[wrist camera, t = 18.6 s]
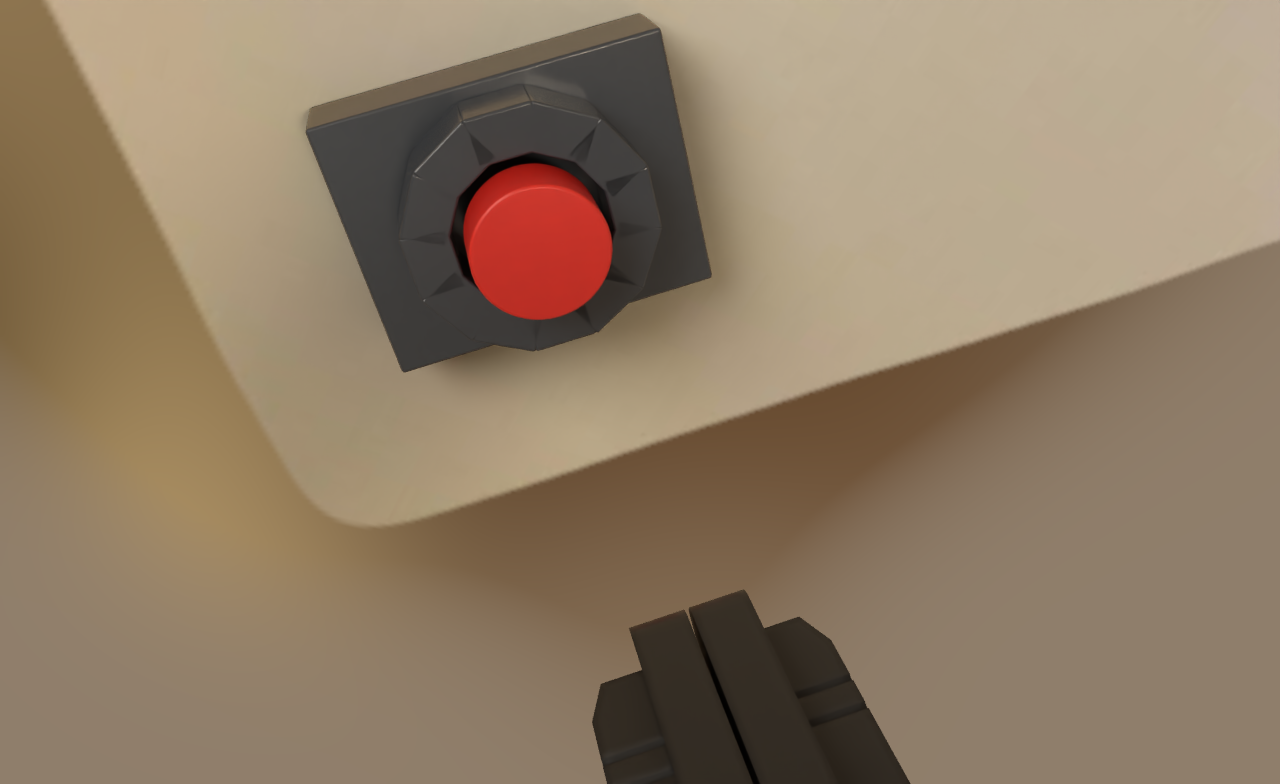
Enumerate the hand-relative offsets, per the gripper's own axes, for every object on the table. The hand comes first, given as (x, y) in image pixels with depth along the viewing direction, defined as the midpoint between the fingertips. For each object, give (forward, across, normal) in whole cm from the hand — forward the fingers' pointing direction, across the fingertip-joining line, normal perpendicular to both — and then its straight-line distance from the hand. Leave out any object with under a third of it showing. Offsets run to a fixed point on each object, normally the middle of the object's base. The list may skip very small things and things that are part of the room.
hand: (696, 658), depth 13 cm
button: (+15, 0, 0) cm, 15 cm away
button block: (+19, 0, 0) cm, 19 cm away
